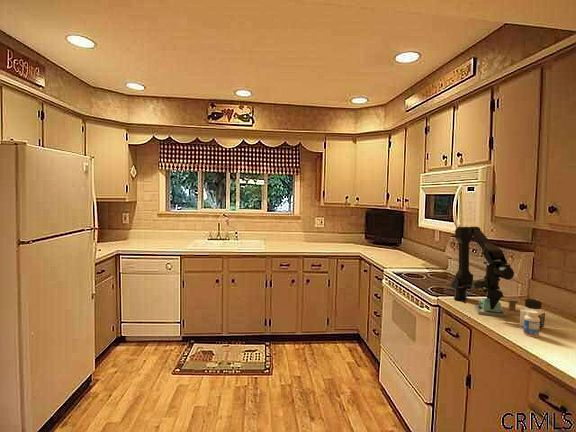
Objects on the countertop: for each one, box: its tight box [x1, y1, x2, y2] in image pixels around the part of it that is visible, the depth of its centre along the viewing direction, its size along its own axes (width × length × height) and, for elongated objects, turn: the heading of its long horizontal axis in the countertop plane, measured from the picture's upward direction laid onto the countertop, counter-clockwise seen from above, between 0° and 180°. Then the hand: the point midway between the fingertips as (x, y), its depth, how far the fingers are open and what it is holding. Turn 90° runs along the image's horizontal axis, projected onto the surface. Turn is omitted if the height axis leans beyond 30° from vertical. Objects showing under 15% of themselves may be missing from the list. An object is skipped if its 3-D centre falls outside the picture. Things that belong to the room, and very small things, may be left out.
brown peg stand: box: [501, 299, 522, 314], centre depth 184 cm, size 8×8×5 cm
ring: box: [478, 297, 502, 313], centre depth 180 cm, size 9×7×4 cm
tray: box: [474, 304, 508, 319], centre depth 179 cm, size 12×12×2 cm
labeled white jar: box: [519, 298, 546, 331], centre depth 162 cm, size 7×7×12 cm
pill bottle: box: [522, 310, 540, 338], centre depth 153 cm, size 6×5×10 cm
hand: (490, 306), depth 179 cm, fingers closed on ring, 7 cm apart
